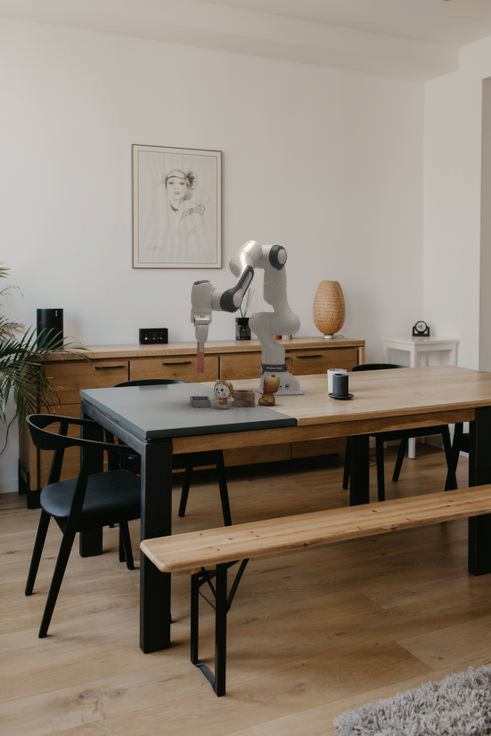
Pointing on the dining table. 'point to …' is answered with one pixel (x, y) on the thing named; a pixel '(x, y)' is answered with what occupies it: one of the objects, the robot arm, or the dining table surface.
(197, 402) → the tray
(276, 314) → the robot arm
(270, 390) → the figurine
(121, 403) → the dining table surface
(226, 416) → the dining table surface
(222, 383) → the figurine
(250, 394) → the hitch block
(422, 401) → the dining table surface
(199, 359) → the pin
